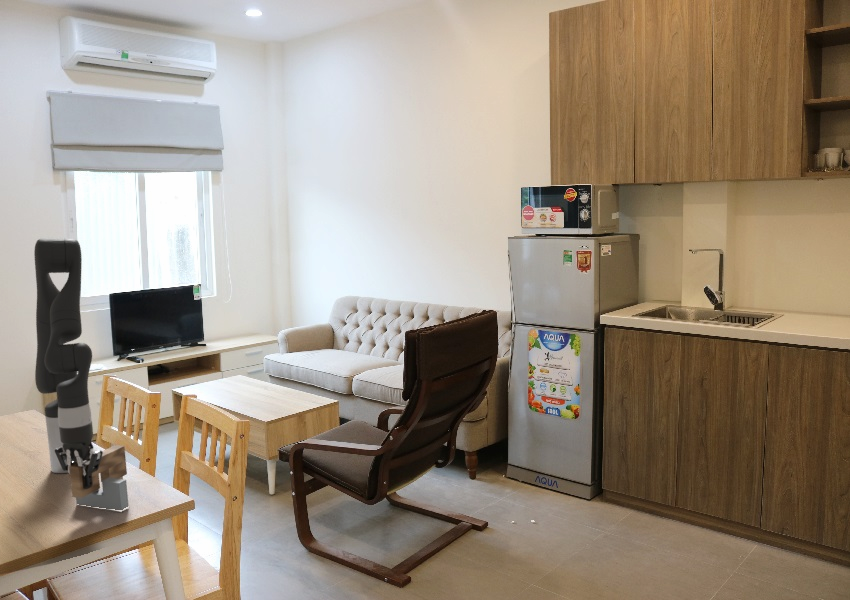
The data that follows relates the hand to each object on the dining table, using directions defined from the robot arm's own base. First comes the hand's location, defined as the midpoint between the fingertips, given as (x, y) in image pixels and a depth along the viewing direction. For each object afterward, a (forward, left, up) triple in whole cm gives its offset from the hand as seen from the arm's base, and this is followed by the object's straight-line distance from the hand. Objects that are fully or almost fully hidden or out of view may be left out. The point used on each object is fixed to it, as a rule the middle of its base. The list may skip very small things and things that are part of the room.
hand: (82, 486), depth 183 cm
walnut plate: (-4, +4, -2) cm, 6 cm away
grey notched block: (-4, +4, -8) cm, 10 cm away
